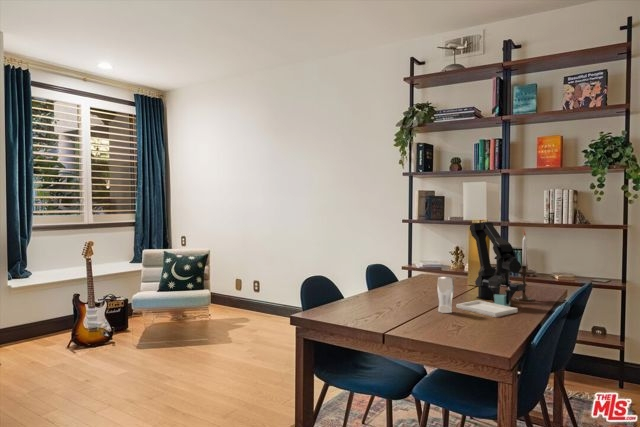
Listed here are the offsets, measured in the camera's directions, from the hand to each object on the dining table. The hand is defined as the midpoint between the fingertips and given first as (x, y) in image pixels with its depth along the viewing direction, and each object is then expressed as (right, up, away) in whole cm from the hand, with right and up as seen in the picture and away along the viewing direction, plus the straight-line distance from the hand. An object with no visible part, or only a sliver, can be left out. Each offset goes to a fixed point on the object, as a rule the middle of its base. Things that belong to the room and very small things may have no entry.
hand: (502, 303), depth 210 cm
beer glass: (-31, -1, -14) cm, 34 cm away
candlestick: (+16, -1, +14) cm, 21 cm away
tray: (-11, -1, -10) cm, 15 cm away
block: (0, -1, 0) cm, 1 cm away
